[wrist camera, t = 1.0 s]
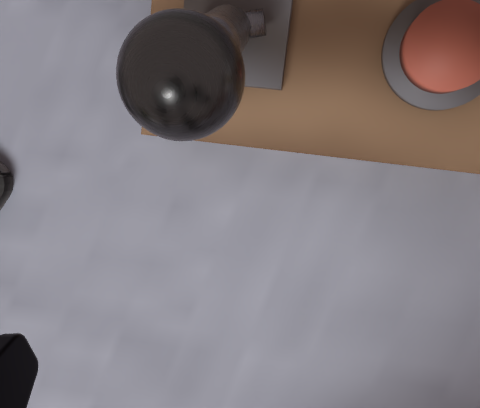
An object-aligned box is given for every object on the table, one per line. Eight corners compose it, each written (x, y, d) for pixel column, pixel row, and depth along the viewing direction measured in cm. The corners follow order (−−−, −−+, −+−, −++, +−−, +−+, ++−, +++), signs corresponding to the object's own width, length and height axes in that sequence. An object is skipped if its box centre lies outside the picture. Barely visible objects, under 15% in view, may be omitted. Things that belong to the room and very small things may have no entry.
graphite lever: (270, 56, 19) (249, 150, 9) (203, 67, 19) (119, 167, 10) (259, -19, 18) (223, 1, 8) (189, -5, 18) (76, 29, 9)
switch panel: (694, 197, 20) (797, 212, 16) (159, 135, 23) (125, 133, 19) (752, -24, 18) (882, -73, 14) (175, -58, 22) (143, -106, 17)
